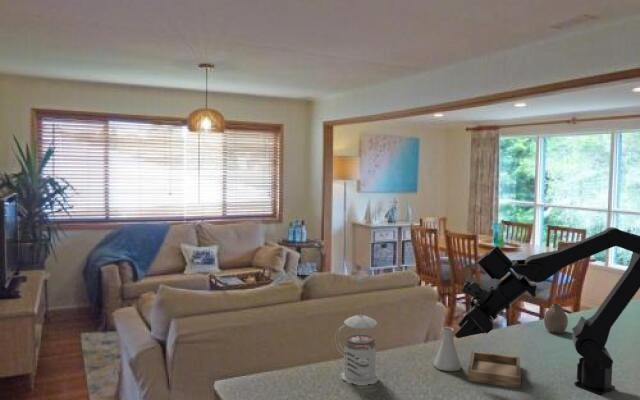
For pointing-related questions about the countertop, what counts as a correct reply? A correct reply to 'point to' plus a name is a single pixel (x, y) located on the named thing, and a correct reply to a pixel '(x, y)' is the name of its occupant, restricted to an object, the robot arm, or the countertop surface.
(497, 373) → the wooden tray
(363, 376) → the french press
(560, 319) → the vase
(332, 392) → the countertop surface
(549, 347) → the countertop surface
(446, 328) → the flask
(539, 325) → the countertop surface
